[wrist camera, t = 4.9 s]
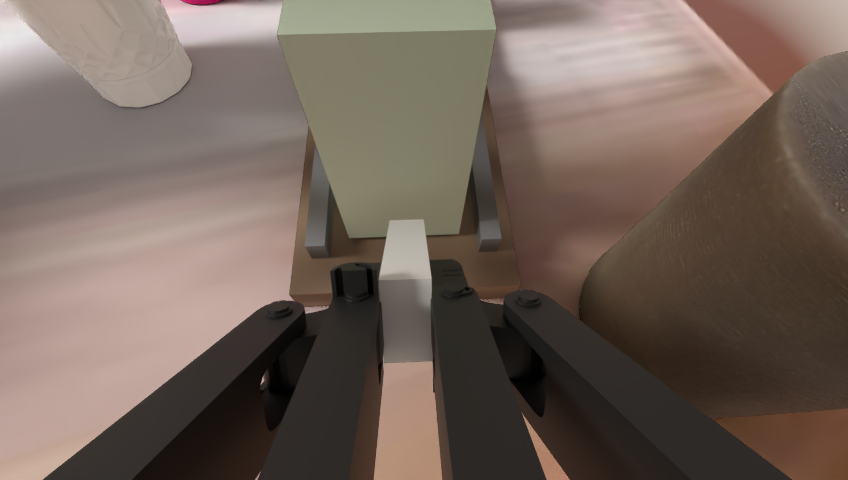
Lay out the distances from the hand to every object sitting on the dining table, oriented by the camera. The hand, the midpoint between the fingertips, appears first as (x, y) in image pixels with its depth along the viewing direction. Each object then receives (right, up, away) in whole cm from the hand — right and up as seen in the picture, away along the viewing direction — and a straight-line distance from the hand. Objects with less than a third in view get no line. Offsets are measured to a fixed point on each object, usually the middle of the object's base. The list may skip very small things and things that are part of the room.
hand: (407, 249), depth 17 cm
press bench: (-1, +9, +11) cm, 14 cm away
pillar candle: (+14, -4, +4) cm, 16 cm away
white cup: (-21, +13, +13) cm, 27 cm away
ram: (0, +3, +5) cm, 6 cm away
